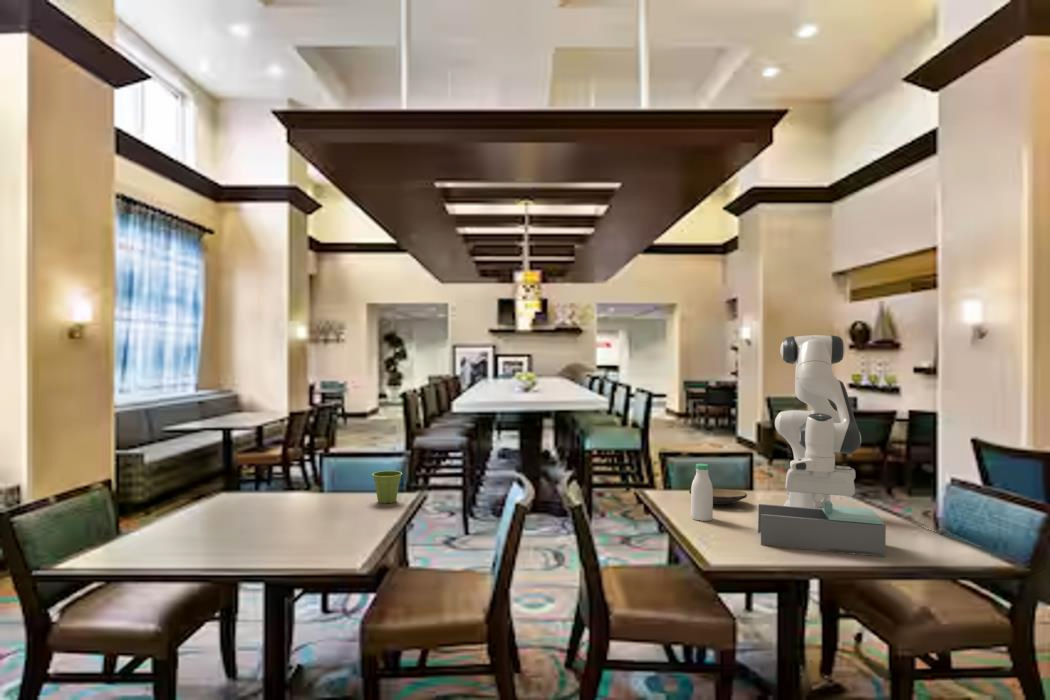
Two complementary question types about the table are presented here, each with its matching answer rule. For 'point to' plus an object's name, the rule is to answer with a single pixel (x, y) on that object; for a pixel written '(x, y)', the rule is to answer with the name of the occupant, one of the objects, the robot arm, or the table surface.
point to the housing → (818, 531)
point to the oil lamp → (726, 496)
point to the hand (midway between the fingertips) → (819, 507)
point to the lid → (850, 514)
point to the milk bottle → (702, 494)
